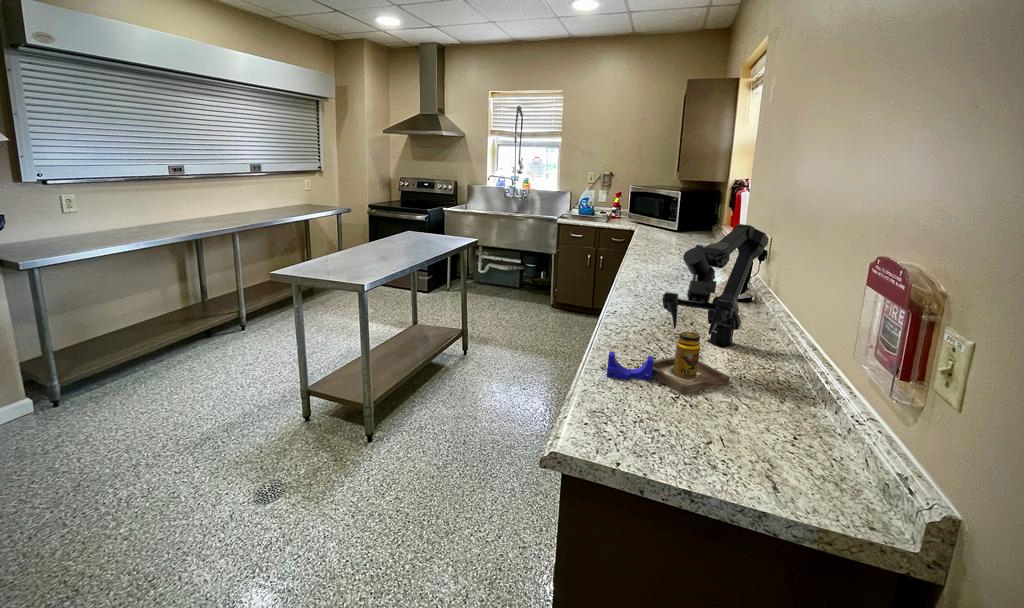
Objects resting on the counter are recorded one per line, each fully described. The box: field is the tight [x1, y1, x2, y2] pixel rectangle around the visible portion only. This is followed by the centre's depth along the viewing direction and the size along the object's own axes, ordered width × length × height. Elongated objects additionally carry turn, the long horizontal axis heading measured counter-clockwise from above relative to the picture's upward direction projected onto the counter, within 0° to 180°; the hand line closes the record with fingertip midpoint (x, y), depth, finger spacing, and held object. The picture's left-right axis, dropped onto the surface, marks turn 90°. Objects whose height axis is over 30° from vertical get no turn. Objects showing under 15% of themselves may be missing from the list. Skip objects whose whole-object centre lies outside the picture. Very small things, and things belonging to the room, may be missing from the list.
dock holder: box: [641, 356, 731, 395], centre depth 139 cm, size 16×16×2 cm
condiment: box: [663, 331, 701, 382], centre depth 138 cm, size 7×8×12 cm
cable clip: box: [606, 351, 655, 382], centre depth 138 cm, size 12×4×6 cm, turn 75°
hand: (691, 331), depth 139 cm, fingers open, 9 cm apart
